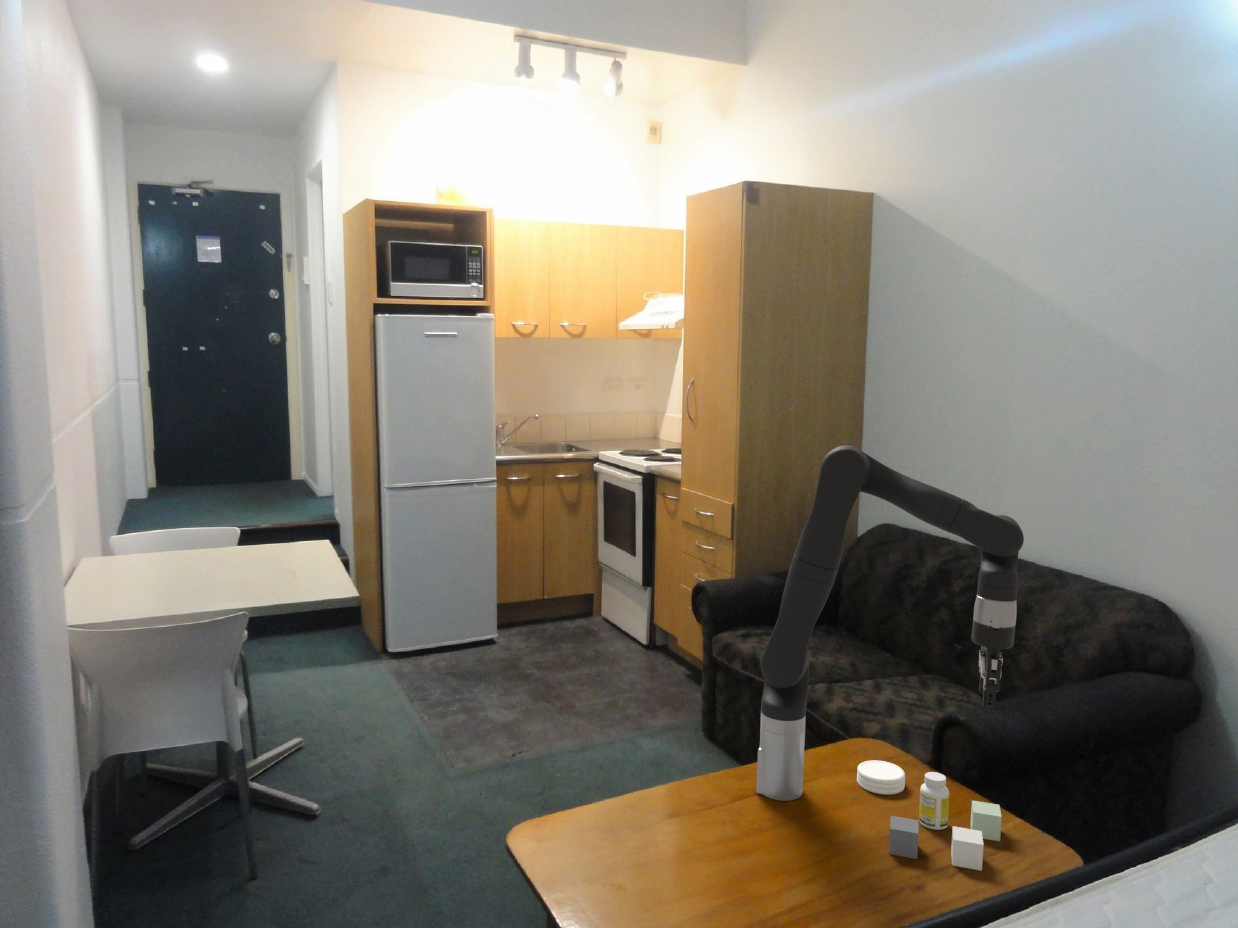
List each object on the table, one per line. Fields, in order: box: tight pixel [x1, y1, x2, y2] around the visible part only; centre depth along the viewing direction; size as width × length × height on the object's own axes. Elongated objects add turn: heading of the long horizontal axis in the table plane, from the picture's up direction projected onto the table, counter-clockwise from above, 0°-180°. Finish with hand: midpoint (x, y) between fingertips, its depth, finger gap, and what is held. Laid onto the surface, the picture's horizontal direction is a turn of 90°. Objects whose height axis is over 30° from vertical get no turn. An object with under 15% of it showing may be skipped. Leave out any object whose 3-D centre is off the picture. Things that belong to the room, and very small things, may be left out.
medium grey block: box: [888, 815, 920, 860], centre depth 163 cm, size 5×5×5 cm
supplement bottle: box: [918, 771, 950, 831], centre depth 172 cm, size 5×5×10 cm
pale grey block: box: [950, 825, 984, 871], centre depth 160 cm, size 5×5×5 cm
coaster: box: [856, 759, 906, 796], centre depth 189 cm, size 10×10×4 cm
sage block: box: [969, 800, 1003, 842], centre depth 170 cm, size 5×5×5 cm
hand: (986, 701), depth 170 cm, fingers open, 8 cm apart
